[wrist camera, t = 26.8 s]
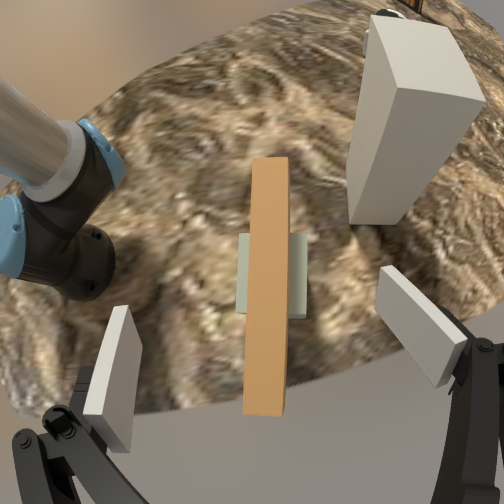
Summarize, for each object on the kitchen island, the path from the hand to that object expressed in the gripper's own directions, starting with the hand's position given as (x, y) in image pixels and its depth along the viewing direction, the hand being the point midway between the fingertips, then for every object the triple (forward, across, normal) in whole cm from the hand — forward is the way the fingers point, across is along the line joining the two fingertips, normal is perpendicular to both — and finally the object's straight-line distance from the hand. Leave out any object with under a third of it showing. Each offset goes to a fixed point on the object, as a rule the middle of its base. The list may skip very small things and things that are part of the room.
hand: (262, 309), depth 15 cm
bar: (+10, +2, -5) cm, 11 cm away
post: (+32, +25, -5) cm, 41 cm away
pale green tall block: (+27, +8, -18) cm, 33 cm away
